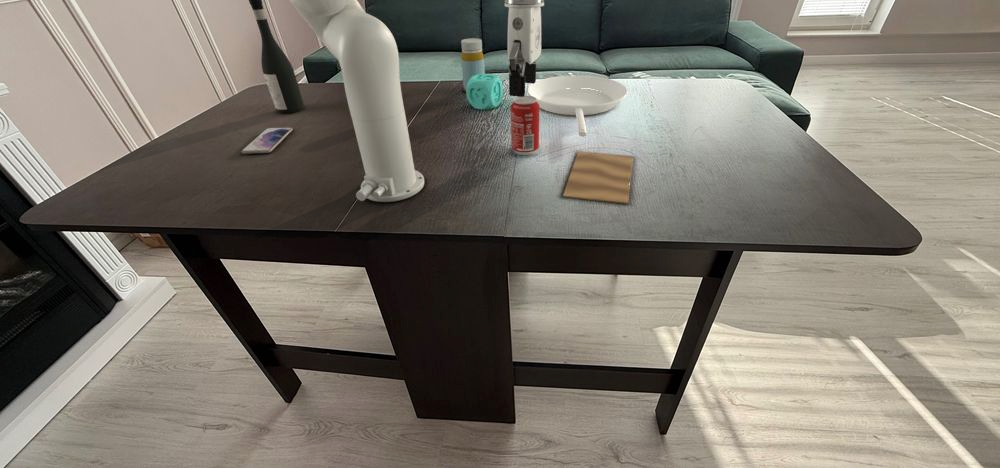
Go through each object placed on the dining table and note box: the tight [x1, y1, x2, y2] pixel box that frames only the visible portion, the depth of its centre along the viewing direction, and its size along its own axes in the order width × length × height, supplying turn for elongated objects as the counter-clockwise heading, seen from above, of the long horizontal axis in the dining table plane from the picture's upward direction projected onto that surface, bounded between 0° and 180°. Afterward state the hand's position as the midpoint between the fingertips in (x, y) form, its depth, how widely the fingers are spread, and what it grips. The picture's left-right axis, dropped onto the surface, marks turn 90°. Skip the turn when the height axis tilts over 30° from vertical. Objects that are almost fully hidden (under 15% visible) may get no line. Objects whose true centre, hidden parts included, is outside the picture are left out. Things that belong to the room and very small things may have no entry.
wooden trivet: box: [562, 151, 634, 205], centre depth 87 cm, size 20×12×1 cm, turn 163°
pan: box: [526, 74, 629, 138], centre depth 116 cm, size 28×44×4 cm, turn 175°
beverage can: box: [510, 95, 541, 156], centre depth 95 cm, size 6×6×12 cm
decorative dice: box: [465, 73, 504, 111], centre depth 123 cm, size 8×8×8 cm
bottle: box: [460, 37, 486, 92], centre depth 133 cm, size 7×7×15 cm
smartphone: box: [241, 126, 293, 155], centre depth 108 cm, size 7×1×15 cm
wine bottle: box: [248, 0, 305, 114], centre depth 119 cm, size 8×8×30 cm
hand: (522, 89), depth 90 cm, fingers open, 9 cm apart
